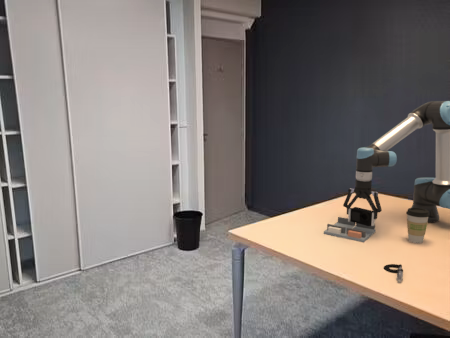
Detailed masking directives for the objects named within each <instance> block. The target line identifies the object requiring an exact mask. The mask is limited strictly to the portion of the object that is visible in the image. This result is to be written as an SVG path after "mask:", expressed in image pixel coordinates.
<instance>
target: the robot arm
mask: <svg viewBox="0 0 450 338" xmlns="http://www.w3.org/2000/svg"><path fill="white" fill-rule="evenodd" d="M427 125H432V127H431V128H432V130H433V132H435V177H417V178H416V179H415V180H414V185H413V197H412V198H413V200H412V205H411V207H410V208H422V209H426V210H428V212H429V214H430V216H429V217H428V223H437V222H439V221H440V213H439V211H438V206H439V207H441V208H444V209H449V210H450V100H442V101H441V100H431V101H428V102H426V103H423V104H422V105H420V106H418V107H417V108H415V109H413V110H412V111H411V112H410V113H408V114H407V117H406V118H404V119H403V120H402V121H400V122H399V123H398V124H397V125H395V126H394V127H393V128H391V129H390V130H389V131H387V132H386V133H385V134H383V135H382V136H380V137H379V138H378V139H376V140H375V141H374V142H372V143H371V144H370V145H368V146H364V147H359V148H358V149H357V150H356V160H355V161H356V163H355V167H356V168H355V182H354V183H355V184H354V188H352V187H350V188H348V190H347V191H348V192H347V196H346V198H345V200H344V202H343V205H342V206H343V207H345V208H346V215H347V216H348V217H347V218H348V222H350V221H351V208H352V206H354V203H355V202H356V201H357V200H358V199H363V200H366V201H367V203H368V204H369V206H370V208H371V211H373V213H372V223H371V226H374V225H375V226H376V223H375V222H376V220H377V219H378V214H379V213H382V211H383V210H382V206H381V202H380V200H379V199H380V198H379V191H373V190H372V184H373V181H372V179H373V171H374V170H373V169H374V168H384V167H385V168H386V167H387V168H389V167H394V166H395V165H396V164H397V161H398V158H397V153H395V152H394V151H393V150H391V151H390V149H392V148H393V147H395V145H397V144H398V143H399V142H401V141H402V140H404V139H405V138H406V137H408V136H410V134H412V133H413V132H414V131H416V130H418V129H422V128H424V127H425V126H427ZM353 193H354V194H355V195H354V197H353V198H352V199H351V197H352V195H353ZM371 195H372V197H373V199H374V201H373V200H372V197H371ZM350 199H351V200H350Z"/></svg>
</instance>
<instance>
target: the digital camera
mask: <svg viewBox="0 0 450 338" xmlns="http://www.w3.org/2000/svg"><path fill="white" fill-rule="evenodd" d="M350 208H351V222H354V223H355V224H356V223H358V224H362V225H366V226H371V223H372V213H373V210H372V209H367V208H362V207H357V206H355V207H350Z"/></svg>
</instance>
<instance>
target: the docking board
mask: <svg viewBox="0 0 450 338" xmlns="http://www.w3.org/2000/svg"><path fill="white" fill-rule="evenodd" d="M326 226H327V227H326V228H327V229H325V230H324V231H323V234H324V235H328V236H333V237H338V238H341V239H347V240H351V241H356V242H361V243H365V242H366V241H368V239H369V238H371V236H373V235H374V234H375V233H376V231H377V229H376V224H375V225H374V226H366V225H362V224H358V223H354V222H351V221H350V222H348V217H347V218H346V217H342V216H339V217H337V222H336V223H334V224H331V223H327V225H326Z"/></svg>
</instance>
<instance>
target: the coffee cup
mask: <svg viewBox="0 0 450 338" xmlns="http://www.w3.org/2000/svg"><path fill="white" fill-rule="evenodd" d="M429 216H430V214H429V212H428V210H426V209H422V208H411V207H409V208H408V209H407V210H406V225H407V226H406V227H407V234H408V235H407V239H408V241H409V242H411V243H414V244H422V243H423V242H424V238H425V235H426V232H427V226H428V223H429V222H428V217H429Z"/></svg>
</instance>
